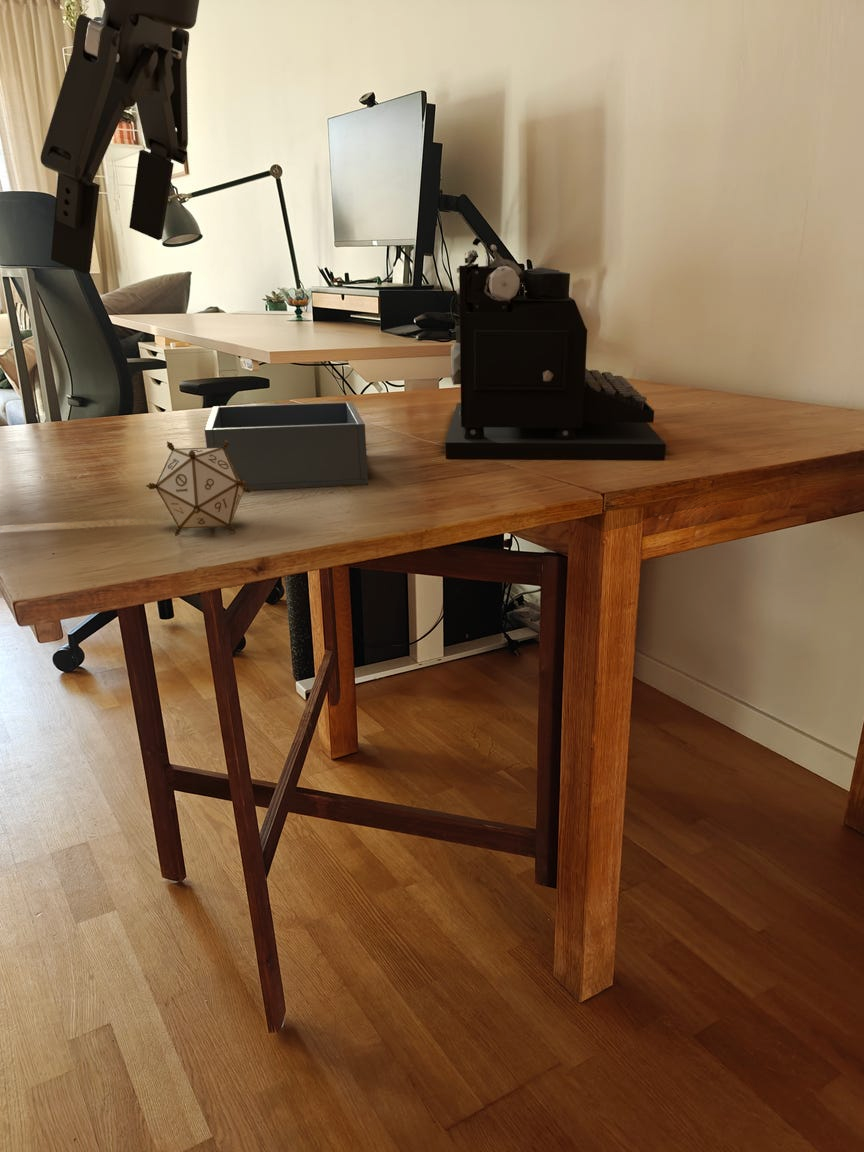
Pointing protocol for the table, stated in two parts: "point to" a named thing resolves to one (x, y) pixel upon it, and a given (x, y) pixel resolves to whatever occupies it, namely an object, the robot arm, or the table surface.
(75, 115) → the robot arm
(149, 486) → the game die
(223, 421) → the bin
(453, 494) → the table surface
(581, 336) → the typewriter
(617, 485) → the table surface
